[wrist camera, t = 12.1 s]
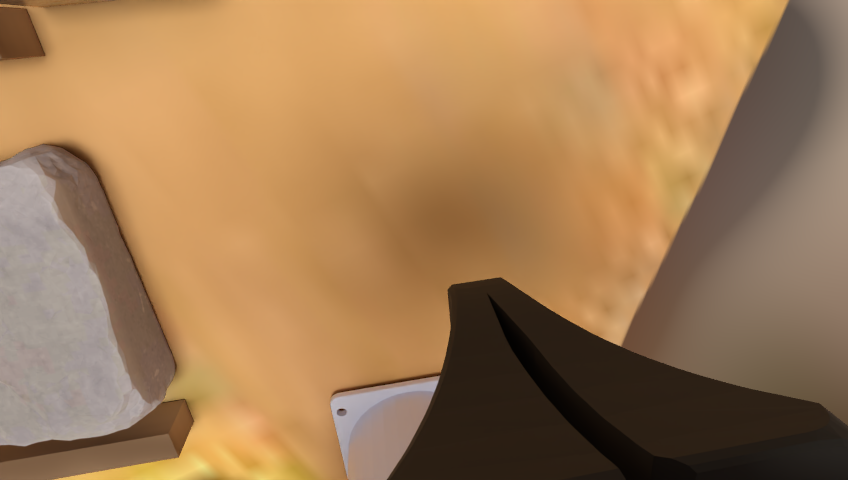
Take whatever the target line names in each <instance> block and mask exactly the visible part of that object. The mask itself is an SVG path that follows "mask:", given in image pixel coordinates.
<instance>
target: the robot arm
mask: <svg viewBox="0 0 848 480" xmlns="http://www.w3.org/2000/svg"><path fill="white" fill-rule="evenodd" d="M448 300H449V311H450V322H451V331H450V337H449V342H448V347H447V352H446V357H445V361H444V364H443V368H442V371H441V375H440V376H435V377H429V378H423V379H417V380H411V381H405V382H400V383H394V384H388V385H382V386H376V387H370V388H364V389H358V390H352V391H346V392H340V393H337V394H334V395H333V396H332V398H331V403H330V407H331V411H332V415H333V419H334V423H335V428H336V432H337V436H338V440H339V444H340V449H341V453H342V457H343V461H344V465H345V470H346V474H347V478H348V480H848V426H847V425H846V424H845V423H843V422H842V421H841V420H840V419H838V418H837V417H836V416H834V415H833V414H832V413H831V412H830V411H828V410H827V409H826V408H824V407H823V406H822V405H821V404H819V403H815V402H810V401H805V400H801V399H796V398H791V397H786V396H782V395H777V394H772V393H767V392H762V391H758V390H753V389H748V388H744V387H740V386H736V385H733V384H729V383H725V382H721V381H718V380H714V379H711V378H707V377H703V376H700V375H697V374H693V373H690V372H687V371H684V370H681V369H677V368H675V367H672V366H669V365H666V364H664V363H660V362H658V361H655V360H652V359H649V358H647V357H644V356H641V355H639V354H637V353H634V352H631V351H629V350H627V349H625V348H622V347H620V346H618V345H616V344H613V343H611V342H609V341H607V340H604V339H602V338H600V337H598V336H596V335H594V334H592V333H590V332H588V331H586V330H585V329H583V328H581V327H579V326H577V325H575V324H574V323H572V322H570V321H568V320H566V319H565V318H563V317H561V316H560V315H558V314H556V313H555V312H553V311H551V310H550V309H548V308H546V307H545V306H543V305H542V304H540V303H539V302H537V301H536V300H534V299H532V298H531V297H530V296H528V295H527V294H525V293H524V292H522V291H521V290H519V289H518V288H516V287H515V286H513V285H512V284H510V283H509V282H507V281H506V280H504V279H502V278H501V277H500V278H493V279H487V280H480V281H474V282H467V283H461V284H454V285H451V286H450V288H449V289H448ZM341 408H342V409H345V410H343V411H340V410H338V409H341Z"/></svg>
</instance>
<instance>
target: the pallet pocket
mask: <svg viewBox="0 0 848 480" xmlns="http://www.w3.org/2000/svg"><path fill="white" fill-rule="evenodd" d="M38 56H45V54H44V52H43V50H42V47H41V45H40V42H39V40H38V37H37V35H36V32H35V30H34V27H33V25H32V22H31V20H30V18H29V15H28V13H27V10H26V9H21V8H9V7H0V60H9V59H19V58H28V57H38ZM193 422H194V421H193V419H192V416H191V414H190V411H189V409H188V407H187V404H186V402H185V399H184V400H178V401H172V402H166V403H160V404H159V405H157V407H156V408H155V409H154V410H152V411H151V412H150V413H148V414H147V415H146V416H145V417H143V418H142V419H140V420H139V421H138V422H137V423H135V424H134V425H132V426H131V427H129V428H127V429H123V430H120V431H117V432H114V433H111V434H108V435H104V436H98V437H91V438H81V439H75V440H71V441H68V440H53V439H52V440H48V441H43V442H37V443H34V444H31V445H28V446H17V445H0V480H52V479H58V478H63V477H69V476H75V475H80V474H86V473H92V472H98V471H103V470H109V469H115V468H120V467H126V466H132V465H137V464H143V463H149V462H154V461H160V460H166V459H172V458H177V457H179V455H180V453H181V451H182V448H183V446H184V444H185V441H186V439H187V436H188V434H189V432H190V429H191V427H192V425H193Z"/></svg>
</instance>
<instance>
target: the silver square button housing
mask: <svg viewBox="0 0 848 480" xmlns="http://www.w3.org/2000/svg"><path fill="white" fill-rule="evenodd" d="M102 1H113V0H0V4H9V5H21V6H32V7H51V6H61V5H71V4H82V3H92V2H102Z"/></svg>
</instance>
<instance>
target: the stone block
mask: <svg viewBox="0 0 848 480" xmlns="http://www.w3.org/2000/svg"><path fill="white" fill-rule="evenodd" d="M174 374H175V363H174V360H173V356H172V353H171V351H170V349H169V346H168V344H167V342H166V339H165V337H164V334H163V332H162V329H161V327H160V325H159V323H158V321H157V318H156V316H155V313H154V311H153V309H152V306H151V304H150V301H149V299H148V297H147V295H146V292H145V290H144V288H143V285H142V282H141V280H140V278H139V275H138V273H137V271H136V269H135V267H134V264H133V261H132V258H131V256H130V254H129V252H128V250H127V248H126V246H125V244H124V242H123V240H122V238H121V236H120V233H119V228H118V225H117V222H116V220H115V218H114V215H113V213H112V211H111V209H110V206H109V204H108V201H107V199H106V196H105V193H104V191H103V189H102V188H101V186H100V183H99V181H98V178H97V176H96V175H95V173H94V172H93V171H92V169H91V168H90V167H89V165H88V164H87V163H86V162H84V161H82V160H80V159H79V158H77V157H76V156H74V155H72V154H71V153H69V152H68V151H66V150H64V149H63V148H61V147H56V146H50V145H45V144H42V145H39V146H36V147H32V148H28V149H25V150H23V151H21V152H19V153H18V154H16V155H15V156H13V157H12V158H10V159H7V160H5V161H2V162H0V445H17V446H28V445H31V444H34V443H37V442H43V441H48V440H52V439H53V440H68V441H71V440H75V439H81V438H91V437H98V436H104V435H108V434H111V433H114V432H117V431H120V430H123V429H127V428H129V427H131V426H132V425H134V424H135V423H137V422H138V421H139V420H140V419H142V418H143V417H145V416H146V415H147V414H148V413H150V412H151V411H152V410H154V409H155V408H156V407H157V405H159V404H160V403H161V402H162V401H163V399H164V398H165V395H166V390H167V388H168V386H169V385H170V383H171V382H172V380H173V377H174Z"/></svg>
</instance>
